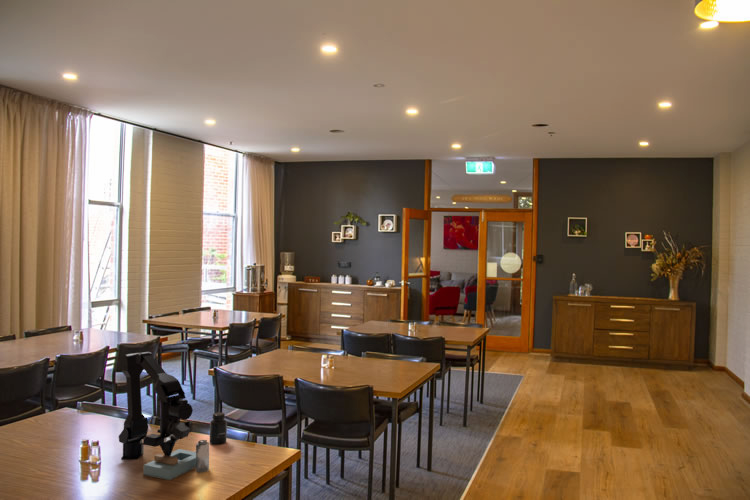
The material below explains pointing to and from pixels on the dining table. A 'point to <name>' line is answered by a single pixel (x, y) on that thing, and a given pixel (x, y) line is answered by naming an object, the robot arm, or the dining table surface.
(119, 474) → the dining table surface
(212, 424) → the supplement bottle
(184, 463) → the socket
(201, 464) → the grey cylindrical piece
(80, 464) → the dining table surface
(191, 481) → the dining table surface
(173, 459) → the lock bar
